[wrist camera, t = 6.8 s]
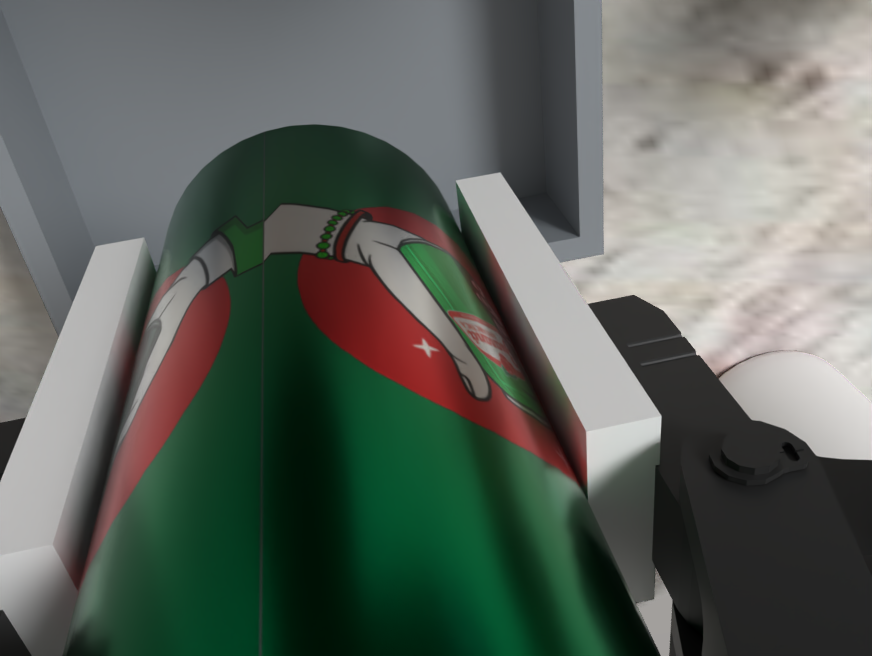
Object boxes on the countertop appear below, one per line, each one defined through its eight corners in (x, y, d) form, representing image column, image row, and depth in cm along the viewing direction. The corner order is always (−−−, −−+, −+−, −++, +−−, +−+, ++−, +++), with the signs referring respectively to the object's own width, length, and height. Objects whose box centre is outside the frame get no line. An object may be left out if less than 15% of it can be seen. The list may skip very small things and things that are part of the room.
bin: (-82, -141, 22) (-153, -134, 18) (547, -231, 23) (599, -240, 20) (92, 290, 29) (67, 357, 26) (563, 202, 31) (603, 254, 27)
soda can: (233, 397, 16) (175, 1355, 6) (117, 164, 13) (-348, 1215, 3) (477, 321, 16) (822, 1143, 6) (412, 74, 13) (848, 833, 3)
